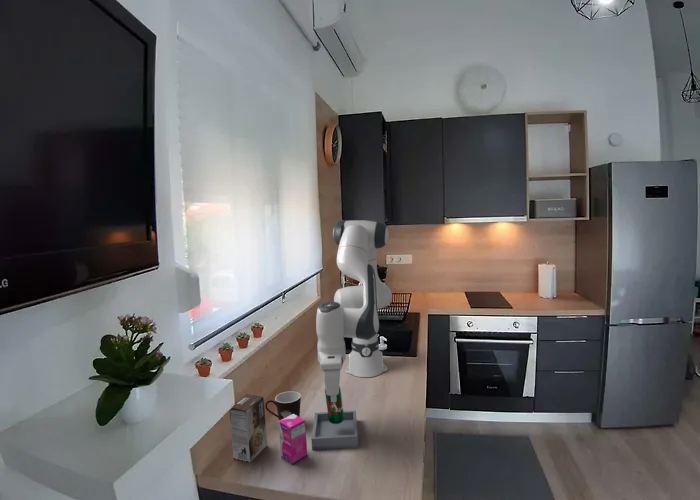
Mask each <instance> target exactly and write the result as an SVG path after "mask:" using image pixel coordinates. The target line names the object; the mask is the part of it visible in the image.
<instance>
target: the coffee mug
mask: <svg viewBox="0 0 700 500" xmlns="http://www.w3.org/2000/svg"><path fill="white" fill-rule="evenodd" d="M301 400H302V396H301V393H300V392H298V391H295V390H294V391H293V390H292V391H291V390H290V391H284V392H280V393H279V394H277V395H276V396H275V398H274V400H272V399H269V400H268V401H266V402H265V403H264V408H265V409H266V410H267V412H269V414H271V415H272V416H274V417H276V418H277V419H278V422H279V421H280V420H282V419H284V418H286V417H288V416H290V415H292V414H295V415H297V416H298V417H300V415H301ZM269 403H273V404H274V405H275V406H276V412H277V414H276V413H275V412H273V411H271V409H269V408H268V404H269ZM300 418H301V417H300Z"/></svg>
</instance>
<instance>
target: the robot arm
mask: <svg viewBox="0 0 700 500" xmlns="http://www.w3.org/2000/svg"><path fill="white" fill-rule="evenodd" d="M389 236H390V235H389V230H388V226H387V225H386V223H384V222H381V221H373V220H364V219H361V220H359V219H355V220H346V219H343V220H338V221H337V222H336V223H335V224H334V227H333V231H332V237H333V242H334V243H335V244H336V245H338V249H337V254H336V266H337V268H338V269H339V271H340V272H341V273H342V274H343V275H345V276H347V277H348V278H351V279H352V280H355V281H358V282H360V283H361V285H352V286H351V285H350V286H345V287H341V288H338V289H337V290H336V292H335V293H334V296H333V301H328V302H323V303H321V304H320V305H318V307H317V310H316V316H315V317H316V318H315V323H316V325H315V327H316V335H317V346H316V347H317V361H318V363H319V365H320V367H319V368H320V370H321V371H322V375H323V376H322V377H323V383H324V391H325V390H326V394H327V395H330V396H331V402H336V401H337V396H336V395H338V393H339V386H340V379H341V370H342V369H343V365H344V362H345V361H346V358H347V356H346V352H347V351H346V343H345V339H344V338H350V339H351V338H352V340H351V352H350V353H348V364H347V367H346V368H345V371H344V372H345V373H346V374H349V375H351V376H355V377H357V378H371V377H372V378H373V377H377V376H379V375H382V373H385V372H388V367H387V366H386V365H385V363H384V358H383V357H384V356H383V355H384V354H383V352H382V351H381V350H380V349H379V348H380V347H379V345H380V343H379V339H378V334H379V333H378V332H379V329H380V321H379V314H378V310H379V309H383V308H386V307H388V306H390V304H392V303H391V302H392V299H393V294H392V291H391V288H390V287H389V286H388V285H387V284H385V283H383V282H382V279H380V277H379V273H378V266H377V265H378V263H377V262H378V260H377V259H378V250H377V249H382V248H383V247H385V246H386V244H387V242H388V241H389Z"/></svg>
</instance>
